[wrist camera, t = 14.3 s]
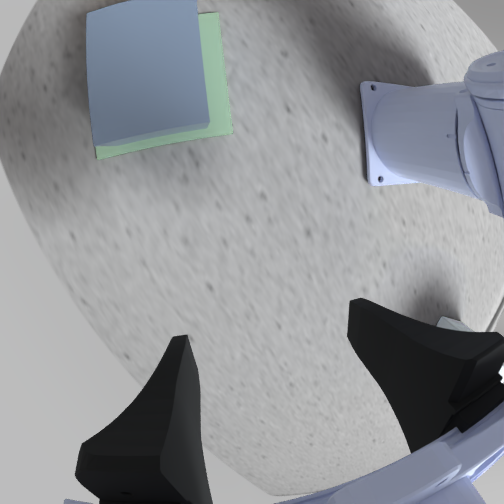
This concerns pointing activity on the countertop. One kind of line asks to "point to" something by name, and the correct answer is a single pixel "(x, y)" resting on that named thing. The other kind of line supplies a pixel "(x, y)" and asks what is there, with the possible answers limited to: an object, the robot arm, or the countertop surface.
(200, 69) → the grey-blue rectangular brick
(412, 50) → the countertop surface
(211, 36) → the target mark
